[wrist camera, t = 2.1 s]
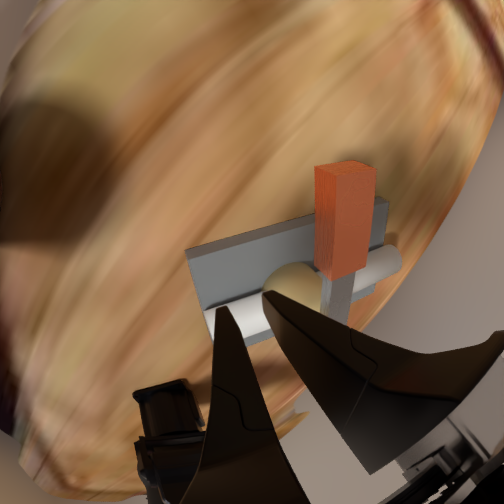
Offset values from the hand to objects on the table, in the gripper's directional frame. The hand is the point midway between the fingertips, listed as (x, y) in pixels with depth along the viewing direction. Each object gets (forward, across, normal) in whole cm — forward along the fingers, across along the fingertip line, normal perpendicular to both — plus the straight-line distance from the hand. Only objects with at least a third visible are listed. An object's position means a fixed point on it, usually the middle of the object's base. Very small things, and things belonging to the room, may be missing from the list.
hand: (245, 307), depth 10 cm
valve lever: (+4, -7, +4) cm, 9 cm away
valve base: (+12, -9, +10) cm, 18 cm away
